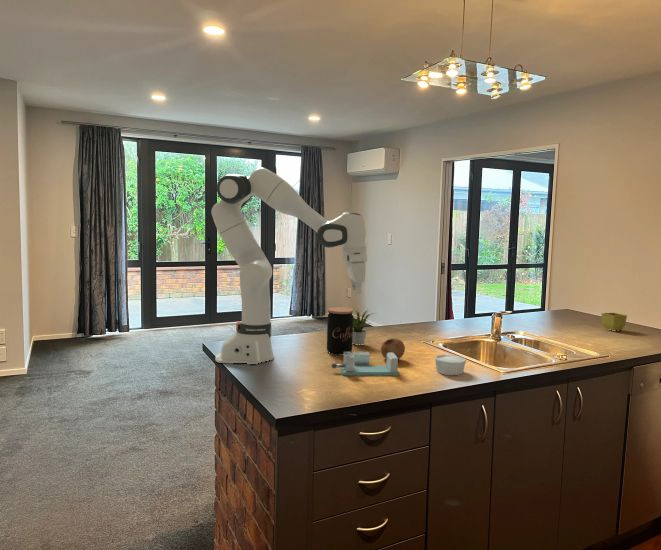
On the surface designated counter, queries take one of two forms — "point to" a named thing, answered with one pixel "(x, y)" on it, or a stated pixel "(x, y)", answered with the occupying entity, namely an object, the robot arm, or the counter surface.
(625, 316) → the flower pot
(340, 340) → the coffee jar
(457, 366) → the ramekin
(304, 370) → the counter surface
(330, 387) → the counter surface
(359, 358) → the block
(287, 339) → the counter surface
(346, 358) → the jaw
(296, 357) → the counter surface
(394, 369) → the vise
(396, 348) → the onion
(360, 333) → the house plant
